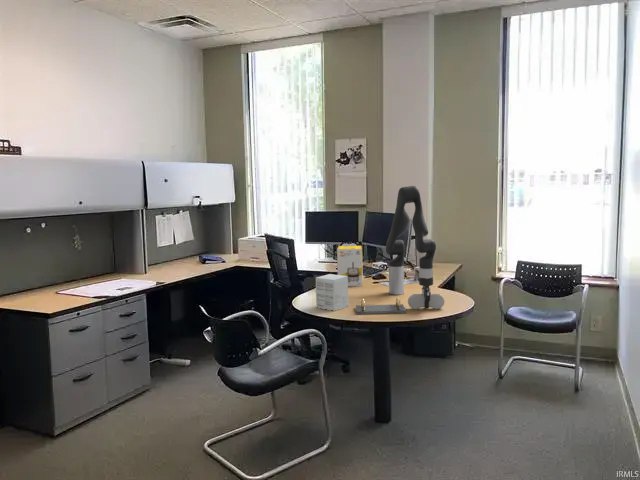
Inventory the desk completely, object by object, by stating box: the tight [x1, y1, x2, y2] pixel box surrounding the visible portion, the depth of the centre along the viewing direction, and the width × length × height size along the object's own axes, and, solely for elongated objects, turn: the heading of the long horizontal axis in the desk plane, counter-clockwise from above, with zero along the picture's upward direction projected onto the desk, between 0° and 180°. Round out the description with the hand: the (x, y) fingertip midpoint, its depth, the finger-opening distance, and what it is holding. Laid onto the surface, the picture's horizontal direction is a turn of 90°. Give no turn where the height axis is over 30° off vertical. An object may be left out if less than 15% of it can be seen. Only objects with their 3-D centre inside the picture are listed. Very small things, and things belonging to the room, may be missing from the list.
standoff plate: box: [355, 297, 407, 315], centre depth 288 cm, size 14×26×6 cm, turn 89°
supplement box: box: [315, 273, 349, 312], centre depth 298 cm, size 13×13×18 cm
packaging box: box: [336, 245, 364, 287], centre depth 362 cm, size 16×16×25 cm
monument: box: [378, 266, 419, 287], centre depth 363 cm, size 12×33×10 cm, turn 113°
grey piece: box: [407, 293, 445, 310], centre depth 289 cm, size 20×2×8 cm, turn 85°
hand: (426, 307), depth 290 cm, fingers closed on grey piece, 2 cm apart
